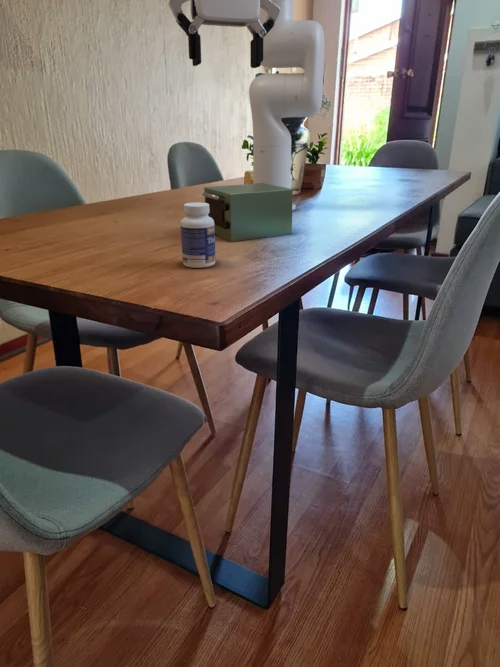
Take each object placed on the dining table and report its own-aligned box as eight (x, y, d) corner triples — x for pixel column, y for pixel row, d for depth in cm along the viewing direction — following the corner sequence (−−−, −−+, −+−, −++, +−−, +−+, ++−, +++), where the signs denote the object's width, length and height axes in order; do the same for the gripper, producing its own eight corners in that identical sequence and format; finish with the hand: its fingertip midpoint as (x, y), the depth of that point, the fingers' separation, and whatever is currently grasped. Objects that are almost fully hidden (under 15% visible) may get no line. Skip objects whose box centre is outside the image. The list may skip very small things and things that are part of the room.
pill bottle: (214, 268, 81) (212, 206, 77) (181, 269, 81) (177, 207, 77) (216, 260, 86) (214, 201, 82) (184, 260, 86) (181, 201, 82)
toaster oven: (200, 231, 108) (198, 187, 104) (262, 224, 115) (262, 182, 111) (225, 242, 98) (224, 194, 95) (291, 234, 105) (292, 189, 101)
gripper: (271, -52, 80) (269, 70, 86) (161, -64, 75) (168, 66, 81) (289, -69, 73) (286, 65, 79) (169, -83, 68) (176, 61, 74)
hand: (226, 66), depth 80 cm, fingers open, 9 cm apart
